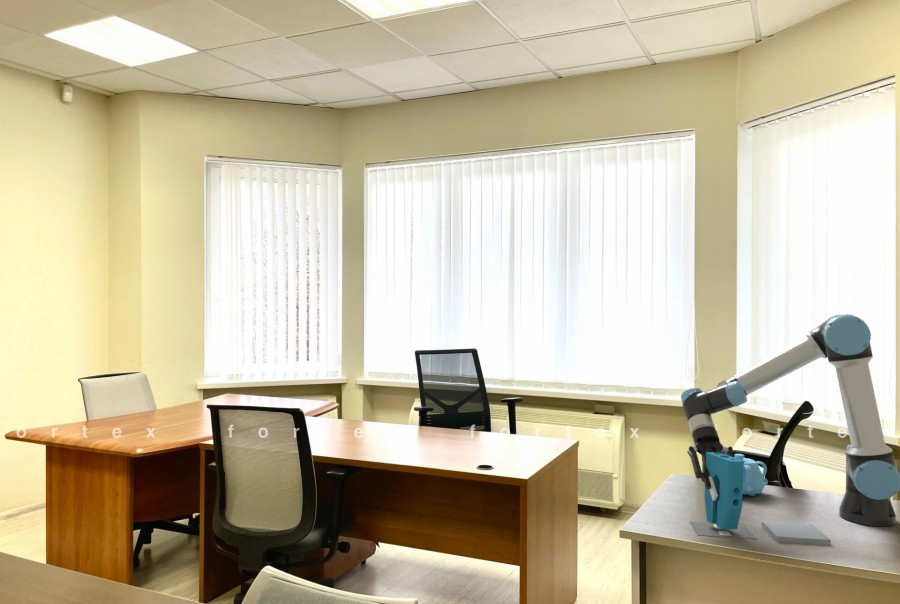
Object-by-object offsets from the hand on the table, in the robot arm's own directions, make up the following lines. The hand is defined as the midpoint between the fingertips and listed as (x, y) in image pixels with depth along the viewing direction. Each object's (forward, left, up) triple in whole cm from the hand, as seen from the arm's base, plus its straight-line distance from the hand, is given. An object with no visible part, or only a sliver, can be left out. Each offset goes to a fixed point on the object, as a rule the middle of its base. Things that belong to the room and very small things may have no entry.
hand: (725, 498), depth 194 cm
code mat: (+1, -2, -10) cm, 10 cm away
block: (+1, -2, -8) cm, 9 cm away
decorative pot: (-15, -47, -10) cm, 50 cm away
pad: (-19, -2, -10) cm, 22 cm away
